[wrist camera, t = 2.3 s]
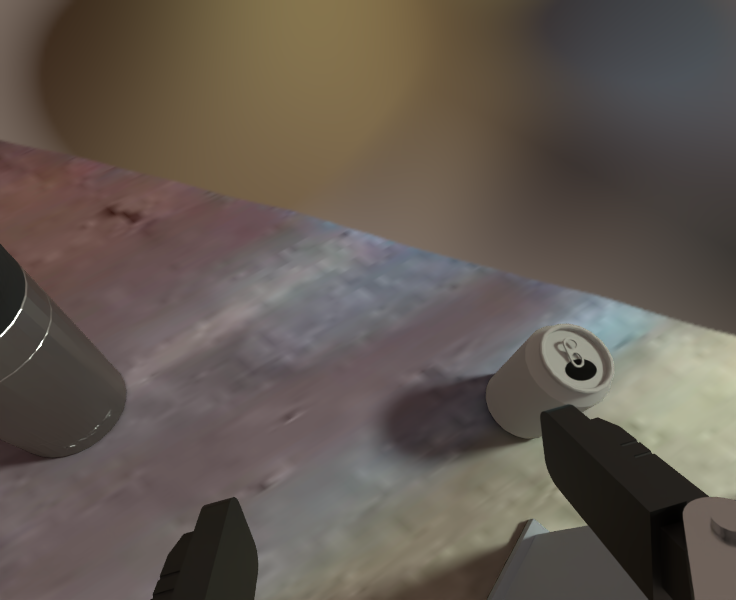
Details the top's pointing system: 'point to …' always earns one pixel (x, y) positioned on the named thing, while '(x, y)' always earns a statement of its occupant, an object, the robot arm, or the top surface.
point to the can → (549, 378)
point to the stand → (562, 568)
